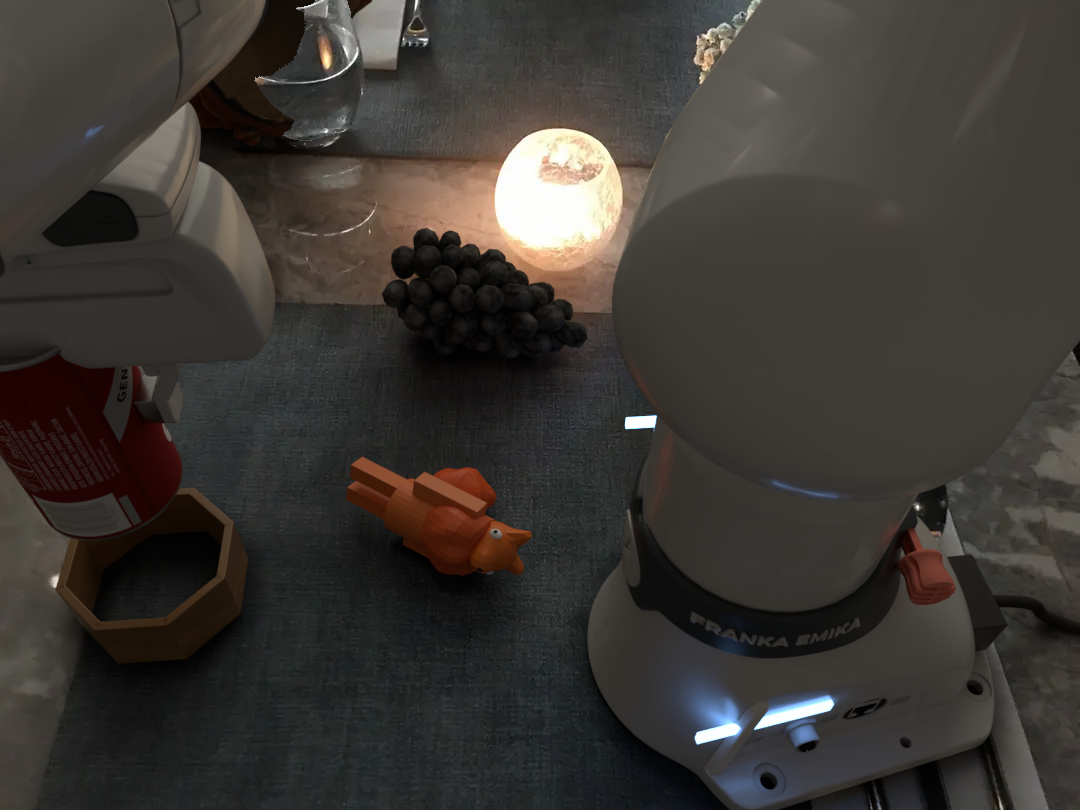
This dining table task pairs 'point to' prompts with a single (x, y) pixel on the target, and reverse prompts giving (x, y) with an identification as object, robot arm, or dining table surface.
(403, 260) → the fruit
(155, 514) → the soda can
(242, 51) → the sculpture
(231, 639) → the dining table surface
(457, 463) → the dining table surface
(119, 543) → the can holder
